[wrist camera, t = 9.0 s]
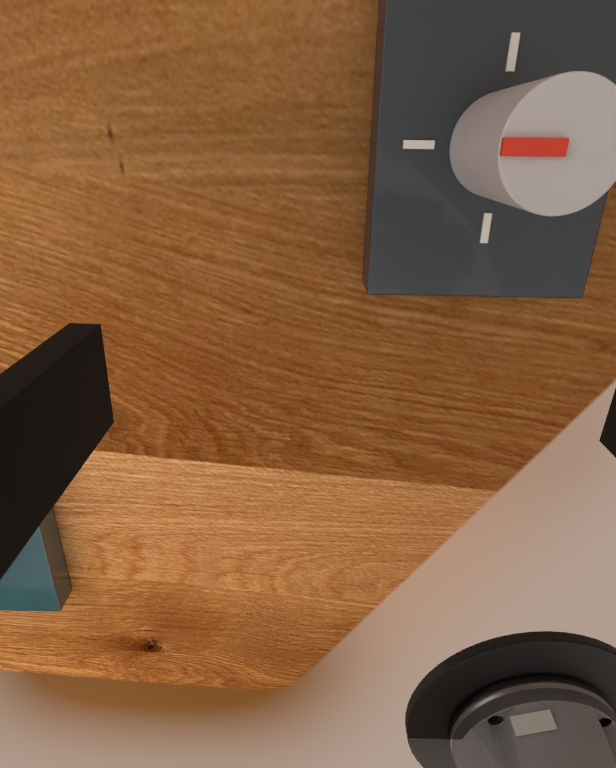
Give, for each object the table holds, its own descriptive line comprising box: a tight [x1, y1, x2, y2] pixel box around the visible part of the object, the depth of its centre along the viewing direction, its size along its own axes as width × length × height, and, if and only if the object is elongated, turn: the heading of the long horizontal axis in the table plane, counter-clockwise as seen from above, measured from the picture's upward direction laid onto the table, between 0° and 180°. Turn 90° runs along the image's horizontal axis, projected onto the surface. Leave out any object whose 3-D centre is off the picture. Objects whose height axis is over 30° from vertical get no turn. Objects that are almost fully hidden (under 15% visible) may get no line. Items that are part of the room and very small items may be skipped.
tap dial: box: [450, 71, 616, 216], centre depth 20 cm, size 4×4×7 cm
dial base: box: [362, 0, 616, 298], centre depth 25 cm, size 14×11×3 cm
